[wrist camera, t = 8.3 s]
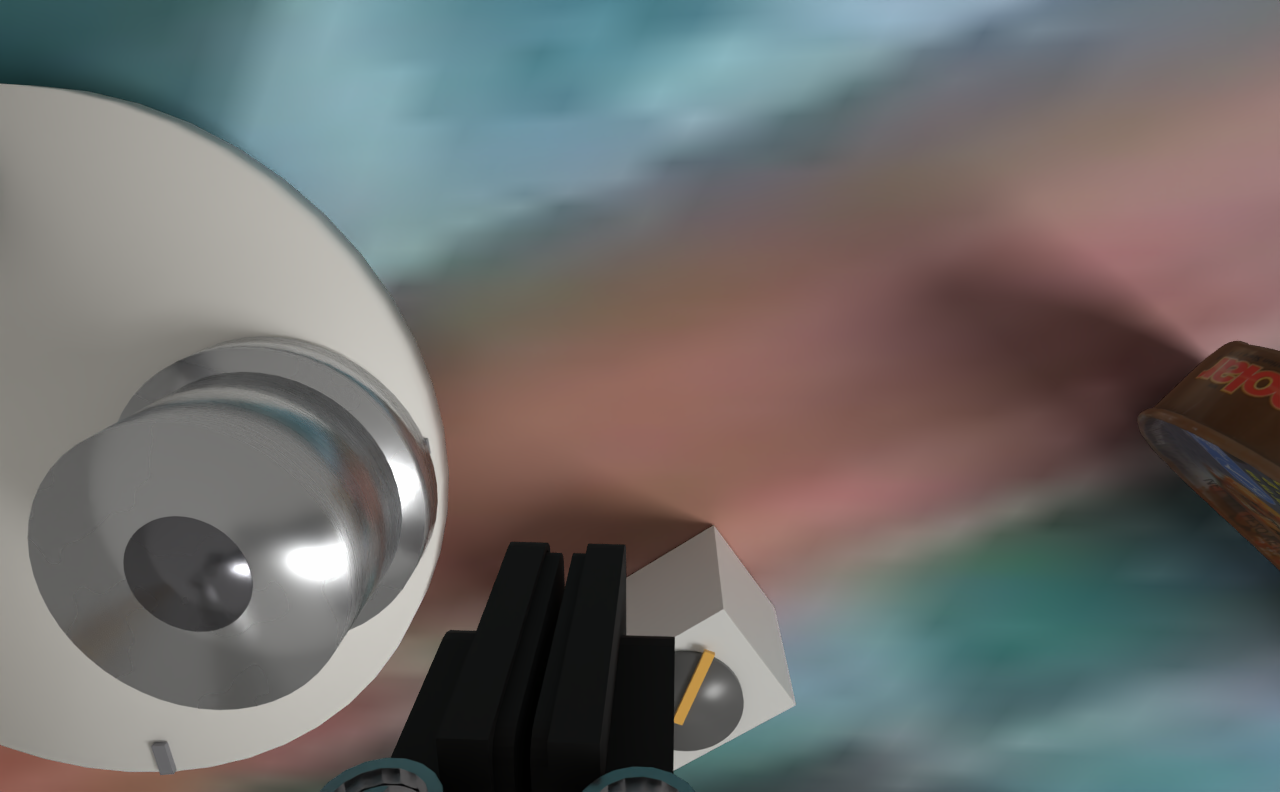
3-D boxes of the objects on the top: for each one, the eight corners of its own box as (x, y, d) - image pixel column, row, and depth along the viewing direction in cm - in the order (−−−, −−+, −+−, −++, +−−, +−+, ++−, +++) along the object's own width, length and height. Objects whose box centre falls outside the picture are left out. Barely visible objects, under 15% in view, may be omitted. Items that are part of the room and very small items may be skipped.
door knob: (452, 617, 20) (397, 734, 16) (171, 615, 21) (53, 729, 17) (419, 333, 18) (347, 393, 14) (105, 338, 18) (-48, 397, 15)
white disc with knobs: (504, 699, 24) (451, 887, 18) (-69, 735, 25) (-296, 925, 19) (389, 48, 18) (261, 15, 13) (-333, 127, 19) (-762, 131, 14)
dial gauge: (653, 676, 24) (650, 791, 20) (590, 598, 23) (574, 701, 19) (774, 607, 23) (797, 712, 19) (713, 525, 22) (724, 615, 18)
